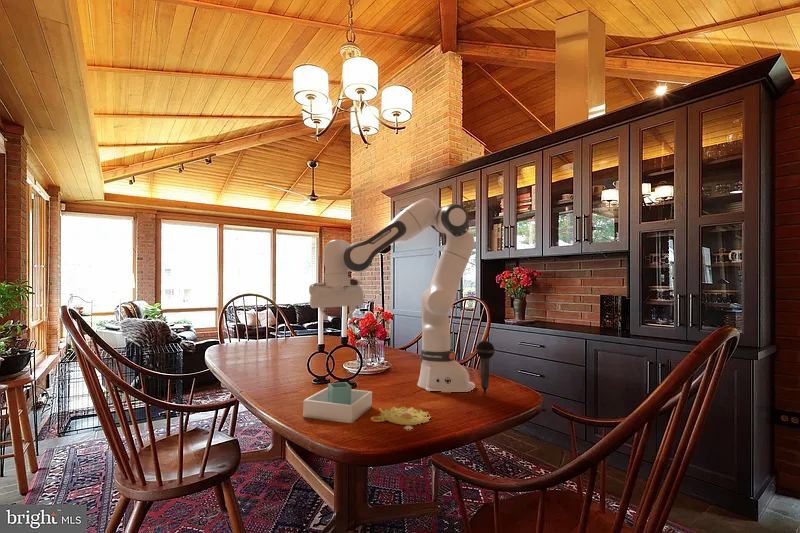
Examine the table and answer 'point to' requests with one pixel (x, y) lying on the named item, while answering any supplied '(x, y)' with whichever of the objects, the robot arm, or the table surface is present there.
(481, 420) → the table surface
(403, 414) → the decorative object
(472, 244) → the robot arm
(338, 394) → the block
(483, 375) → the microphone
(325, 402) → the white open box
